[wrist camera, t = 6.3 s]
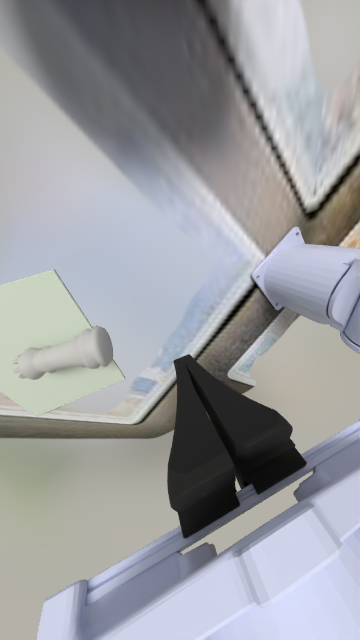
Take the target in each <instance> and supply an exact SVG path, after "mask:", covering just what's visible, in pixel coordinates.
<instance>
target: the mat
mask: <svg viewBox="0 0 360 640" xmlns="http://www.w3.org/2000/svg"><path fill="white" fill-rule="evenodd" d="M88 328H89V329H91V330H92V329H93V328H92V326H91V325H90V323H89V321H88V320H87V318H86V317H85V316H84V314H83V312H82V311H81V309H80V308H79V306H78V305H77V303H76V302H75V300H74V298H73V297H72V295H71V294H70V292H69V291H68V289H67V288H66V286H65V285H64V283H63V282H62V280H61V279H60V277H59V276H58V274H57V272H56V271H55V270H51V271H47V272H44V273H41V274H37V275H34V276H30V277H27V278H23V279H20V280H17V281H13V282H9V283H6V284H3V285H0V392H2V393H3V394H4V395H6V396H7V397H9V398H10V399H12V400H13V401H14V402H16V403H17V404H19V405H20V406H22V407H23V408H25V409H26V410H28V411H29V412H31V413H32V414H33V415H35V416H36V417H37V416H39V415H41V414H44V413H46V412H48V411H51V410H53V409H55V408H58V407H60V406H63V405H65V404H67V403H69V402H72V401H74V400H77V399H79V398H81V397H84V396H86V395H88V394H91V393H93V392H95V391H98V390H100V389H103V388H105V387H108V386H110V385H112V384H115V383H117V382H119V381H122V380H124V379H125V376H124V375H123V373H122V372H121V370H120V369H119V367H118V366H117V364H116V363H115V361H114V360H113V358H112V361H111V362H110V363H109V365H108V366H107V367H103V366H101V365H100V366H99V368H96V369H90V368H88V367H83V368H82V367H81V366H74V367H67V368H62V369H58V370H57V371H55V372H54V373H49V372H46V373H45V374H44V375H43V376H42V377H41V378H39V379H36V380H32V379H29V378H24V379H22V378H19V375H20V374H21V373H16V374H15V373H14V371H13V369H15V368H18V364H12V363H13V360H14V359H15V358H19V357H18V356H17V355H19V354H22V353H23V352H24V351H25V350H26V349H28V348H30V347H33V348H38V349H41V350H42V349H43V348H44V347H45V346H56V345H60V344H62V343H65V342H67V341H70V340H72V339H74V337H75V336H77V335H79V334H80V333H81V332H82V331H84V330H85V329H88Z"/></svg>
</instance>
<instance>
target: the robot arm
mask: <svg viewBox="0 0 360 640" xmlns="http://www.w3.org/2000/svg"><path fill="white" fill-rule="evenodd" d="M251 276H252V278H253V280H254V281H255V282H256V284H257V285H258V286H259V288H260V289H261V291H262V292H263V293H264V295H265V296H266V297H267V299H268V300H269V302H270V303H271V304H272V306H273V307H274V308H275V309H276V310H279V309H281V308H282V307H285V308H287V309H289V310H291V311H294V312H296V313H298V314H300V315H302V316H304V317H306V318H309V319H311V320H313V321H315V322H318V323H321V324H330V326H331V327H334V328H336V329H338V330H340V336H341V339H342V340H343V342H344V343H345V344H346V345H347V346H349V347H350V348H351V349H353V350H354V351H356V352H357V353H359V354H360V248H350V247H337V246H324V245H312V244H305V243H304V240H303V238H302V235H301V232H300V230H299V228H298V227H294V228H292V229H291V231H290V232H289V233H288V234H287V235H286V236H285V237H284V238H283V239H282V241H281V242H280V243H279V244H278V245H277V246H276V247H275V248H274V249H273V250H272V252H271V253H270V254H269V255H268V256H267V257H266V258H265V259H264V260H263V262H262V263H261V264H260V265H259V266H258V267H257V268H256V269H255V270H254V271H253V273H252V275H251ZM256 277H257V278H256ZM174 365H175V370H176V377H177V411H176V422H175V429H174V436H173V442H172V448H171V453H170V457H169V462H168V480H167V481H168V494H169V500H170V504H171V507H172V508H173V509H174V510H175V511H177V512H178V515H179V520H180V525H181V526H179V527H177V528H176V529H174V530H172V531H170V532H169V533H167V534H165V535H164V536H162V537H160V538H159V539H157V540H155V541H154V542H152V543H150V544H148V545H147V546H145V547H143V548H142V549H140V550H138V551H137V552H135V553H133V554H132V555H130V556H128V557H126V558H125V559H123V560H121V561H120V562H118V563H116V564H114V565H113V566H111V567H109V568H108V569H106V570H105V571H103V572H101V573H99V574H98V575H96V576H94V577H92V578H91V579H89V580H80V581H78V582H75V583H73V584H71V585H69V586H68V587H66V588H64V589H63V590H61V591H59V592H57V593H56V594H54V595H52V596H50V597H49V598H47V599H46V600H45V602H44V605H43V609H42V614H41V619H40V624H39V629H38V634H37V639H36V640H360V420H359V421H357V422H355V423H354V424H352V425H350V426H349V427H347V428H345V429H343V430H342V431H340V432H338V433H337V434H335V435H333V436H332V437H330V438H328V439H327V440H325V441H323V442H321V443H320V444H318V445H316V446H315V447H313V448H311V449H310V450H308V451H306V452H304V453H303V454H300V453H299V452H298V451H297V449H296V448H295V444H294V443H293V441H292V440H291V439H290V436H291V434H292V426H291V425H290V424H289V423H288V421H287V420H286V419H284V417H283V416H281V415H280V414H279V413H278V412H277V411H276V410H274V409H271V408H268V407H266V406H264V405H262V404H260V403H258V402H255V401H253V400H251V399H249V398H247V397H246V396H244V395H242V394H240V393H238V392H236V391H235V390H233V389H231V388H230V387H228V386H227V385H225V384H224V383H222V382H221V381H219V380H218V379H216V378H215V377H214V376H212V375H211V374H210V373H209V372H207V371H206V370H205V369H204V368H203V367H202V366H201V365H199V364H198V363H197V362H196V361H195V360H194V359H193V357H192V356H191V355H189V354H188V355H186V356H184V357H181V358H179V359H176V360H174ZM203 406H204V407H203ZM204 408H205V409H204ZM205 410H206V411H205ZM206 412H207V413H206ZM207 414H208V415H207ZM208 416H209V417H208ZM209 418H210V419H209ZM311 471H313V474H312V475H311V476H309V477H308V478H307V479H306V480H304V481H303V482H302V483H300V484H299V487H298V488H297V490H295V491H294V496H295V497H296V499H297V500H298V503H297V504H296V505H294V506H292V507H290V508H289V509H287V510H286V511H284V512H282V513H281V514H279V515H278V516H276V517H275V518H273V519H271V520H270V521H268V522H267V523H265V524H264V525H262V526H261V527H259V528H258V529H256V530H254V531H253V532H251V533H250V534H248V535H247V536H245V537H244V538H243V539H241V540H239V541H238V542H236V543H235V544H233V545H232V546H230V547H229V548H228V549H226V550H225V551H223V552H222V553H220V554H219V555H217V553H216V549H215V546H214V545H213V544H208V543H207V542H206V543H204V544H202V545H200V546H198V547H196V548H195V549H193V550H191V551H189V552H187V553H186V554H184V555H183V554H182V553H180V552H181V551H183V550H184V549H186V548H188V547H189V546H191V545H192V544H194V543H196V542H197V541H199V540H201V539H202V538H204V537H205V536H207V535H209V534H210V533H212V532H214V531H215V530H217V529H218V528H220V527H222V526H223V525H225V524H227V523H228V522H230V521H231V520H233V519H235V518H236V517H238V516H240V515H241V514H243V513H244V512H246V511H248V510H249V509H251V508H253V507H254V506H256V505H257V504H259V503H261V502H262V501H264V500H266V499H267V498H269V497H270V496H272V495H274V494H275V493H277V492H278V491H280V490H282V489H283V488H285V487H286V486H288V485H290V484H291V483H293V482H295V481H296V480H298V479H300V478H301V477H303V476H304V475H306V474H308V473H309V472H311ZM235 476H236V478H237V481H238V483H239V485H240V488H241V490H240V491H239V492H237V491H236V488H235V480H236V478H235ZM236 492H237V493H236Z"/></svg>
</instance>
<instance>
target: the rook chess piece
mask: <svg viewBox="0 0 360 640" xmlns="http://www.w3.org/2000/svg"><path fill="white" fill-rule="evenodd" d="M17 356H18V357H19V358H15V359H14V360H13V363H12V364H18V368H15V369H13V371H14V373H15V374H16V373H21V374H20V375H19V378H22V379H24V378H29V379H32V380H36V379H39V378H41V377H42V376H43V375H44V374H45V373H46V372H49V373H54V372H55V371H57V370H58V369H62V368H67V367H74V366H81V367H82V368H83V367H88V368H90V369H96V368H99V366H100V365H101V366H103V367H107V366H108V365H109V363H110V362H111V361H112V358H113V348H112V343H111V340H110V337H109V335H108V332H107V331H106V330H105V329H104V328H102V327H99V326H95V327H93V329H92V330H91V329H89V328H88V329H85V330H84V331H82V332H81V333H80V334H79V335H77V336H75V337H74V339H72V340H70V341H67V342H65V343H62V344H60V345H56V346H45V347H44V348H43V349H42V350H41V349H38V348H33V347H30V348H28V349H26V350H25V351H24V352H23V353H22V354H19V355H17Z"/></svg>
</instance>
